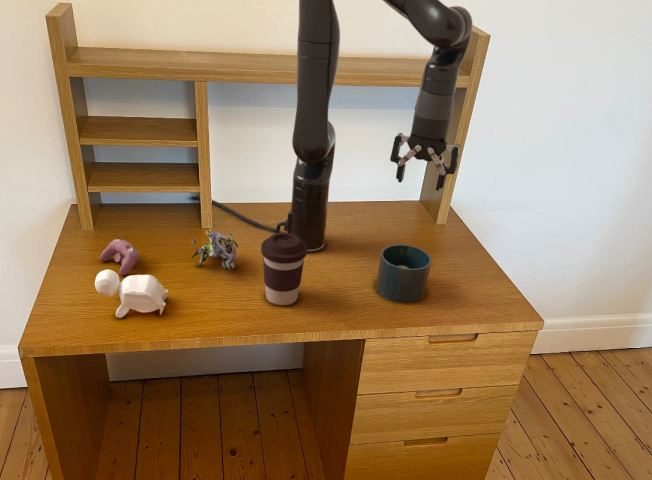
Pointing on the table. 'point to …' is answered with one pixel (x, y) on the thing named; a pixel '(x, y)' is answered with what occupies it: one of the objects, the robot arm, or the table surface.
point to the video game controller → (121, 255)
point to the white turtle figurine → (132, 291)
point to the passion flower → (218, 249)
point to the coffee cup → (283, 267)
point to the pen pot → (403, 273)
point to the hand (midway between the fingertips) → (418, 185)
